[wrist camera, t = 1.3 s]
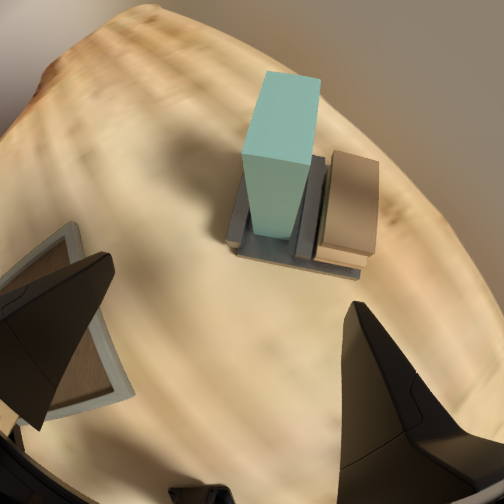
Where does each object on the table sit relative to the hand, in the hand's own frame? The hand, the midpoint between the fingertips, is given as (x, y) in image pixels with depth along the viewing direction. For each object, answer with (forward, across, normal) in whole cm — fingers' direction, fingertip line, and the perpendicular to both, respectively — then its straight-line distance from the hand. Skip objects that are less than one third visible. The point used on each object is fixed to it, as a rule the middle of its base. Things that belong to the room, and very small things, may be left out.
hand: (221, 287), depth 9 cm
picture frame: (+1, +26, +19) cm, 33 cm away
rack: (+16, -3, +4) cm, 17 cm away
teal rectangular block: (+15, -1, +3) cm, 16 cm away
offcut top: (+14, -7, +1) cm, 15 cm away
